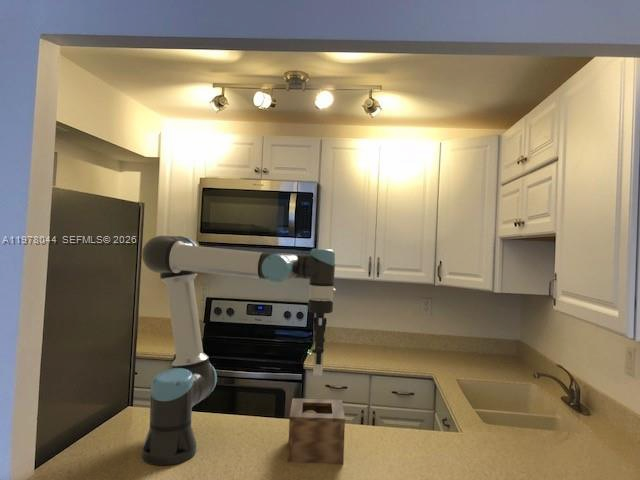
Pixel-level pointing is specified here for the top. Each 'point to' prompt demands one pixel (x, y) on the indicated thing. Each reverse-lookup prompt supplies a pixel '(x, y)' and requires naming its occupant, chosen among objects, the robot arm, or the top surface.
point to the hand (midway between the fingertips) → (317, 368)
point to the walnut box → (316, 431)
